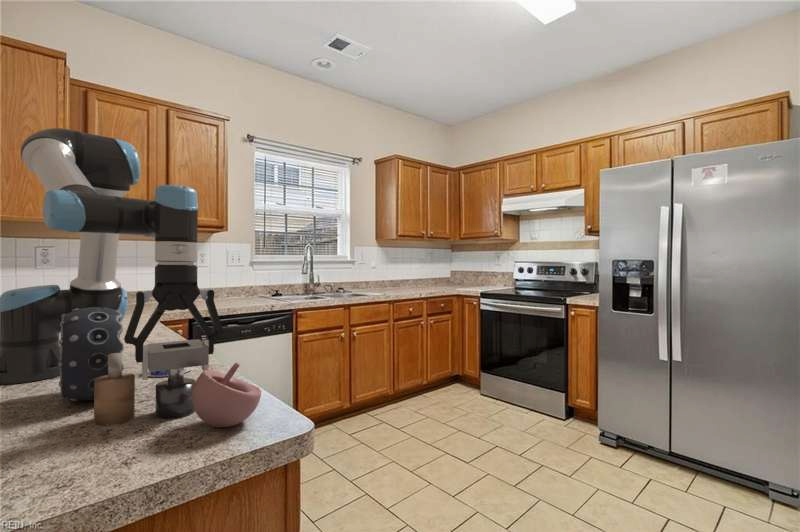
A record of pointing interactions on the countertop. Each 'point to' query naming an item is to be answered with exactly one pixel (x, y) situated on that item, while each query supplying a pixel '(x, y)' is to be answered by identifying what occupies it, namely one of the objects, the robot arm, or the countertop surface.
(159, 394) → the dark bottle with stopper
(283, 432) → the countertop surface
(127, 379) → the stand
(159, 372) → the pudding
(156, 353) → the square hole block
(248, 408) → the mortar and pestle
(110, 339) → the dark grey piece
